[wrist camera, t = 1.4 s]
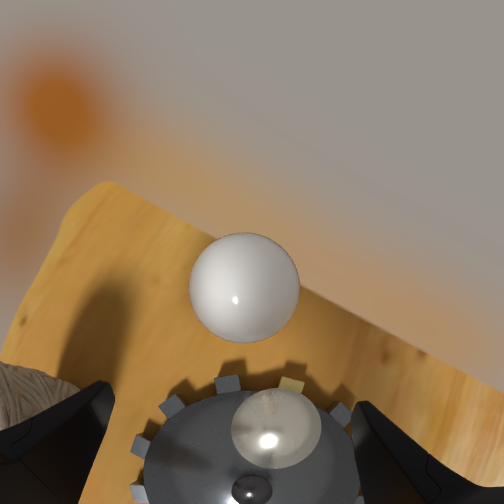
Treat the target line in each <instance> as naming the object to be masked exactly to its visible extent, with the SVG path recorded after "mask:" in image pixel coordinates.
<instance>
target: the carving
mask: <svg viewBox="0 0 504 504" xmlns="http://www.w3.org/2000/svg"><path fill="white" fill-rule="evenodd" d="M79 391H81V390H80V389H79V388H78V387H76V386H75V385H73V384H71V383H70V382H68V381H63V380H61V379H59V378H56V377H52V376H49V375H47V374H46V373H44V372H42V371H39V370H36V369H30V368H25V367H22V366H14V365H10V364H5V363H3V362H1V361H0V431H1V430H3V429H6V428H9V427H11V426H14V425H16V424H18V423H20V422H22V421H25V420H27V419H28V418H30V417H33V416H34V415H36V414H38V413H40V412H42V411H44V410H46V409H48V408H49V407H51V406H53V405H55V404H57V403H59V402H61V401H62V400H64V399H66V398H68V397H70V396H71V395H73V394H75V393H77V392H79Z"/></svg>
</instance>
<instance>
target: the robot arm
mask: <svg viewBox="0 0 504 504" xmlns="http://www.w3.org/2000/svg"><path fill="white" fill-rule="evenodd" d="M114 403H115V396H114V394H113V391H112V388H111V385H110V384H109V383H108V382H106V381H102V380H99V381H97V382H95V383H93V384H91V385H89V386H88V387H86V388H84V389H82V390H81V391H79V392H77V393H75V394H73V395H71V396H70V397H68V398H66V399H64V400H62V401H61V402H59V403H57V404H55V405H53V406H51V407H49V408H48V409H46V410H44V411H42V412H40V413H38V414H36V415H34V416H33V417H30V418H28V419H27V420H25V421H22V422H20V423H18V424H16V425H14V426H11V427H9V428H6V429H3V430H1V431H0V504H78V502H79V500H80V497H81V494H82V491H83V488H84V486H85V483H86V480H87V478H88V475H89V473H90V470H91V467H92V465H93V462H94V460H95V457H96V455H97V452H98V450H99V447H100V445H101V443H102V440H103V438H104V435H105V433H106V430H107V426H108V423H109V420H110V416H111V413H112V409H113V406H114ZM350 422H351V431H352V440H353V450H354V457H355V462H356V466H357V471H358V475H359V480H360V484H361V489H362V494H363V499H364V504H504V487H482V486H479V485H476V484H474V483H472V482H470V481H469V480H467V479H465V478H464V477H462V476H460V475H459V474H457V473H455V472H454V471H452V470H451V469H449V468H448V467H446V466H445V465H443V464H442V463H441V462H439V461H438V460H437V459H436V458H434V457H433V456H432V455H431V454H428V452H427V451H426V450H425V449H423V448H422V447H421V446H420V445H419V444H417V443H416V442H415V441H414V440H413V439H412V438H410V437H409V436H408V435H407V434H406V433H404V432H403V431H402V430H401V429H400V428H399V427H398V426H396V425H395V424H394V423H393V422H392V421H391V420H389V419H388V418H387V417H386V416H385V415H384V414H383V413H381V412H380V411H379V410H378V409H377V408H376V407H375V406H374V405H372V404H371V403H370V402H369V401H359V402H357V403H356V405H355V407H354V410H353V412H352V414H351V418H350Z"/></svg>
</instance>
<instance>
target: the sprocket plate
mask: <svg viewBox="0 0 504 504" xmlns="http://www.w3.org/2000/svg"><path fill="white" fill-rule="evenodd" d="M214 380H215V385H216V390H217V394H219V395H215V396H212V397H209V398H206V399H203V400H200V401H198V402H196V403H194V404H192V405H189V404H188V403H187V402H186V400H185V399H184V398H183V397H182V396H181V394H174V395H173V396H171V397H170V398H169V399H167V400H166V401H164V402H163V403H162V404H160V405H159V406H158V407H159V408H160V409H161V410H162V412H163V413H164V414H165V416H166V417H167V418H168V419H169V420H168V421H167V422H166V423H165V424H164V425H163V426H162V427H161V429H160V430H159V431H158V432H157V434H156V435H155V437H154V438H153V437H151V436H149V435H147V434H145V433H140V434H137V435H136V437H135V439H134V442H133V445H132V448H131V451H130V452H131V453H133V454H135V455H137V456H139V457H141V458H143V459H145V461H144V470H143V477H144V481H135V482H133V483H132V484H130V488H131V491H132V494H133V497H134V500H135V502H140V503H150V504H364V499H363V494H362V492H359V487H360V480H359V475H358V471H357V466H356V462H355V457H354V450H353V442H352V440H351V438H350V437H349V435H348V434H347V432H346V431H345V429H344V427H345V426H346V425H347V424H348V423H349V422H350V418H351V414H352V412H351V411H350V410H349V409H348V408H347V407H346V406H345V405H344V404H343V403H342V402H337V401H335V402H334V403H333V404H332V405H331V406H330V407H329V408H328V409H327V410H326V411H323V410H321V409H320V408H318V407H316V406H315V405H314V404H313V403H312V402H311V401H310V400H309V399H308V398H307V397H305V396H304V395H302V394H301V393H302V390H303V387H304V384H305V382H302V381H298V380H294V379H290V378H287V377H283V376H282V377H280V380H279V383H278V386H277V388H272V389H266V390H263V391H241V390H242V389H241V384H240V379H239V375H238V374H235V375H229V376H223V377H217V378H214ZM235 391H238V392H235ZM223 393H224V394H223Z"/></svg>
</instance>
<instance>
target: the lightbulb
mask: <svg viewBox="0 0 504 504" xmlns="http://www.w3.org/2000/svg"><path fill="white" fill-rule="evenodd" d="M299 295H300V282H299V276H298V272H297V269H296V267H295V265H294V262H293V261H292V259H291V257H290V256H289V255H288V253H287V252H286V251H285V250H284V249H283V248H282V247H281V246H280V245H278V244H277V243H276V242H274V241H272V240H271V239H269V238H267V237H264V236H261V235H258V234H253V233H235V234H230V235H227V236H224V237H221V238H219V239H217V240H216V241H214V242H212V243H211V244H210V245H209V246H207V247H206V248H205V249H204V250H203V251H202V253H201V254H200V255H199V256H198V258H197V260H196V261H195V263H194V265H193V268H192V270H191V274H190V278H189V298H190V303H191V306H192V309H193V311H194V313H195V315H196V317H197V318H198V320H199V321H200V322H201V324H202V325H203V326H204V327H205V328H206V329H207V330H208V331H210V332H211V333H212V334H214V335H215V336H217V337H219V338H221V339H223V340H226V341H229V342H233V343H241V344H248V343H255V342H260V341H263V340H265V339H268V338H270V337H272V336H273V335H275V334H276V333H278V332H279V331H280V330H281V329H283V328H284V327H285V325H286V324H287V323H288V322H289V321H290V319H291V318H292V316H293V314H294V312H295V310H296V307H297V304H298V300H299Z"/></svg>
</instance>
